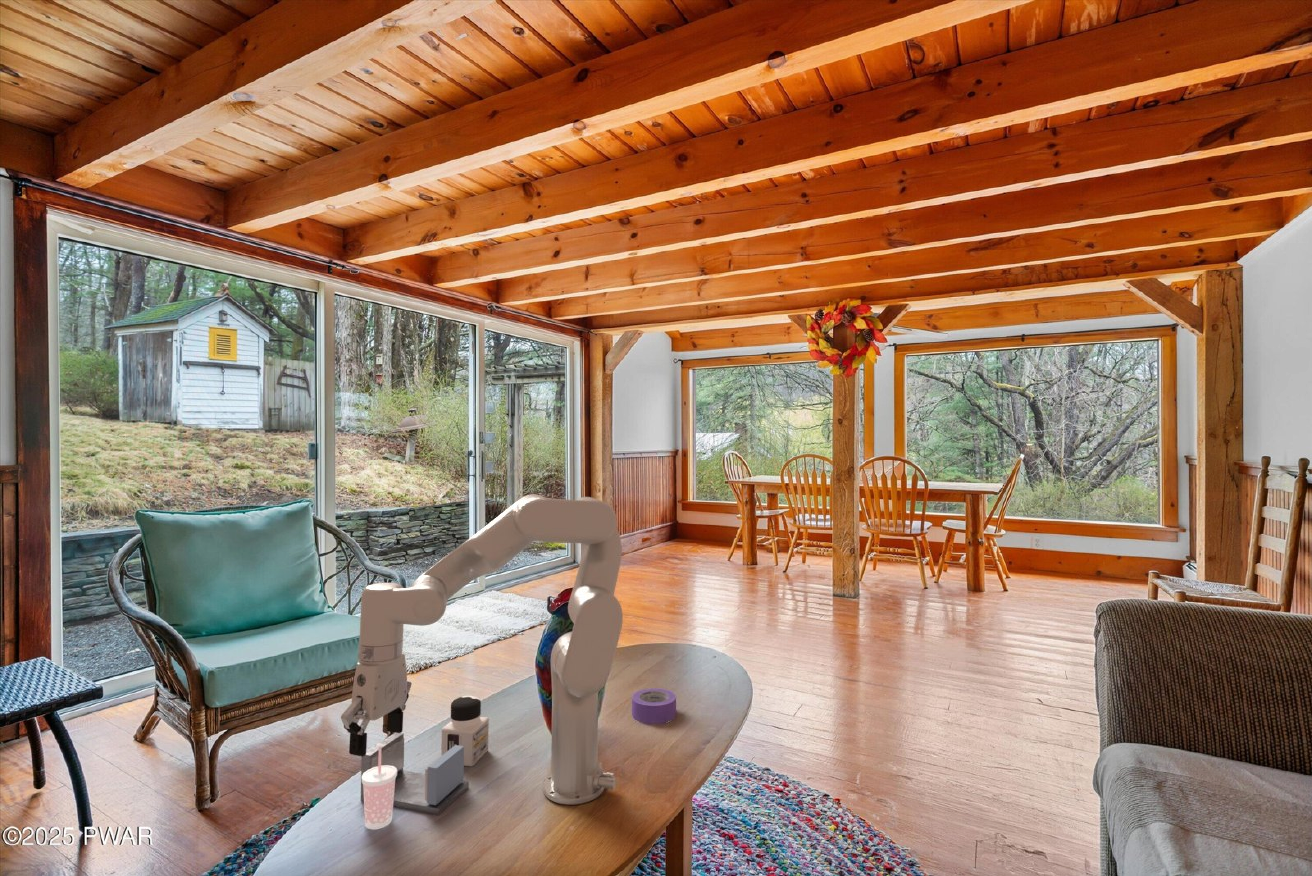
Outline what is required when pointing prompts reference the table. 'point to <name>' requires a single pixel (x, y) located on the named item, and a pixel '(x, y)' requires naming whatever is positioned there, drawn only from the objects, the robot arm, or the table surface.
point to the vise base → (406, 778)
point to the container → (466, 729)
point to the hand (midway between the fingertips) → (376, 742)
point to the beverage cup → (379, 794)
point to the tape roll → (653, 706)
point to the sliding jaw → (444, 775)
